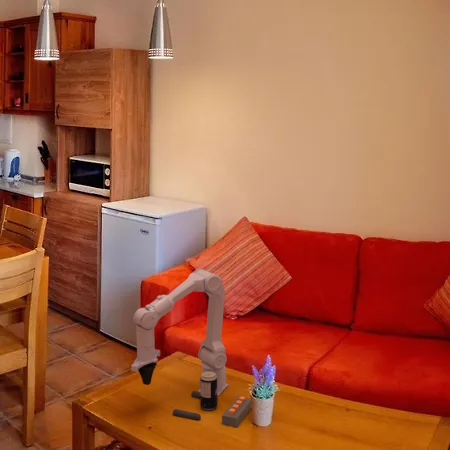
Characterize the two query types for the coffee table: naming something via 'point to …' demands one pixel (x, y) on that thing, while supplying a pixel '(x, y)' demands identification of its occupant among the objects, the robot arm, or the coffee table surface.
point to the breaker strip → (236, 411)
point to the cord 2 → (196, 394)
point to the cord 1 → (186, 414)
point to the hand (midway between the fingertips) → (146, 383)
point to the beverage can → (208, 390)
